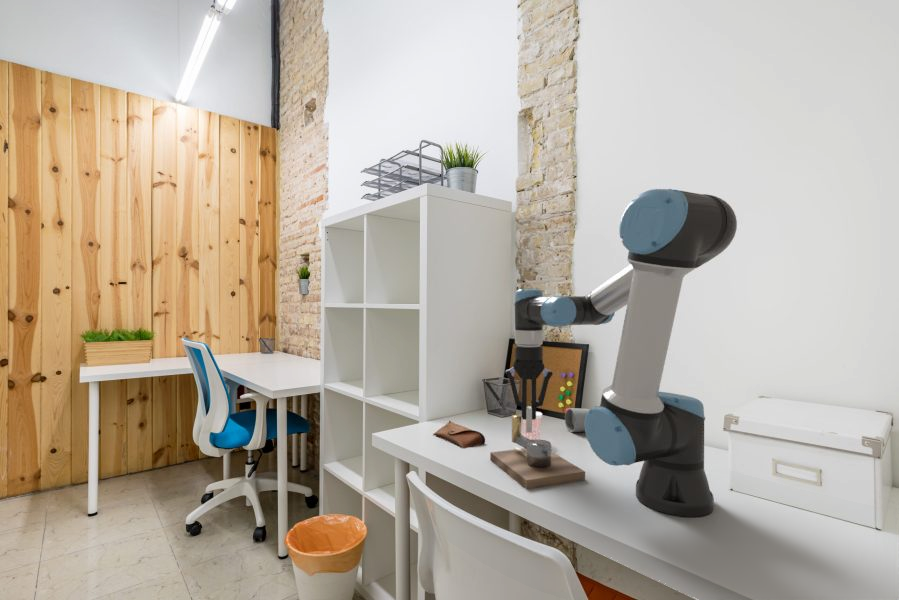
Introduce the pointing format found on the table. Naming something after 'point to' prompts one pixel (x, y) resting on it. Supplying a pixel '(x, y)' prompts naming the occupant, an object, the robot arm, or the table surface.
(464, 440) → the sunglasses case
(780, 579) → the table surface
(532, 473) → the walnut stand plate
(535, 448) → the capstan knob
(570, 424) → the ceramic mug
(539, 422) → the beverage cup
